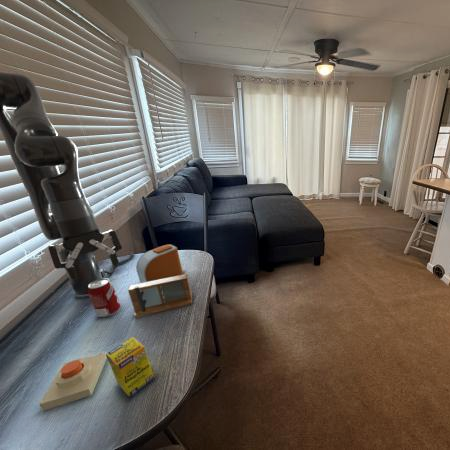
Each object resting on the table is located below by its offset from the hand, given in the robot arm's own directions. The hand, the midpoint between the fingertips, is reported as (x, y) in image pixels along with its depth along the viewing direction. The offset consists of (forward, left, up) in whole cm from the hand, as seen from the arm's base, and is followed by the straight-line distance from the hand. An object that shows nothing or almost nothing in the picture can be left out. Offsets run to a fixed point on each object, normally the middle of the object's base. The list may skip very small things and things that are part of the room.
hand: (96, 272), depth 67 cm
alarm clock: (-29, +9, -23) cm, 38 cm away
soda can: (-13, -6, -23) cm, 27 cm away
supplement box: (+21, +9, -23) cm, 32 cm away
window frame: (-9, +12, -22) cm, 27 cm away
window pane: (-7, +8, -21) cm, 24 cm away
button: (+15, -5, -19) cm, 24 cm away
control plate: (+15, -5, -22) cm, 27 cm away
